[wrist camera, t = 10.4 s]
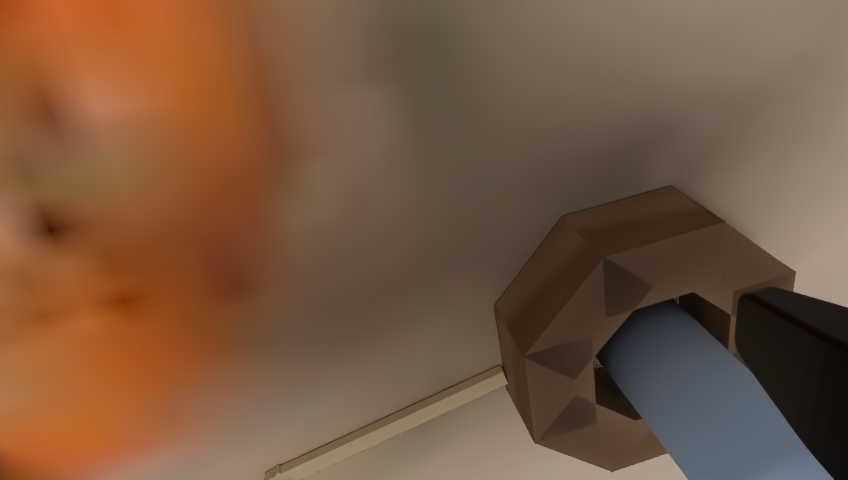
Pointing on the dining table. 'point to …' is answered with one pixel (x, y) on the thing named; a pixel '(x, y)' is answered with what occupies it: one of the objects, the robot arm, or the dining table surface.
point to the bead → (616, 313)
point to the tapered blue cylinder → (702, 400)
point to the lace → (389, 426)
